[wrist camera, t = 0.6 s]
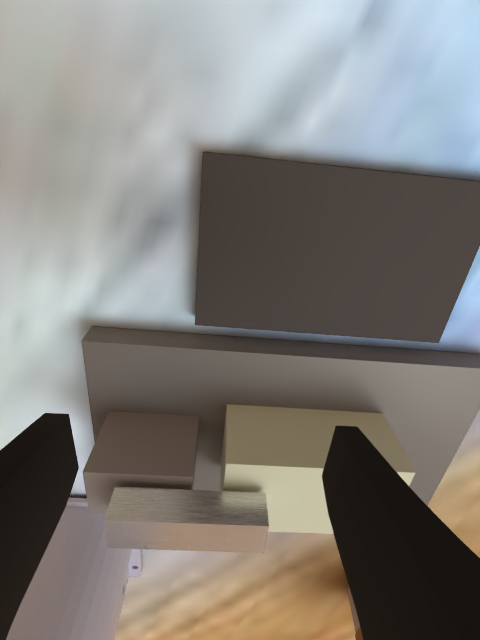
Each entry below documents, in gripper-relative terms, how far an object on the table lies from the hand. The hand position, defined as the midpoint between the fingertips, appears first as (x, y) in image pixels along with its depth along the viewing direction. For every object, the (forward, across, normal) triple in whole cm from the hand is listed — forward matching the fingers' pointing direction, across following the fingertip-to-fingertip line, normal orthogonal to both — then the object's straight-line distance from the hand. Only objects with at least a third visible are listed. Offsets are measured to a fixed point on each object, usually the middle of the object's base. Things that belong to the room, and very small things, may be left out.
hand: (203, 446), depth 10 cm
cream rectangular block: (+8, -5, +8) cm, 13 cm away
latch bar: (+4, +1, +8) cm, 9 cm away
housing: (+10, -4, +8) cm, 13 cm away
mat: (+10, -6, -3) cm, 12 cm away
